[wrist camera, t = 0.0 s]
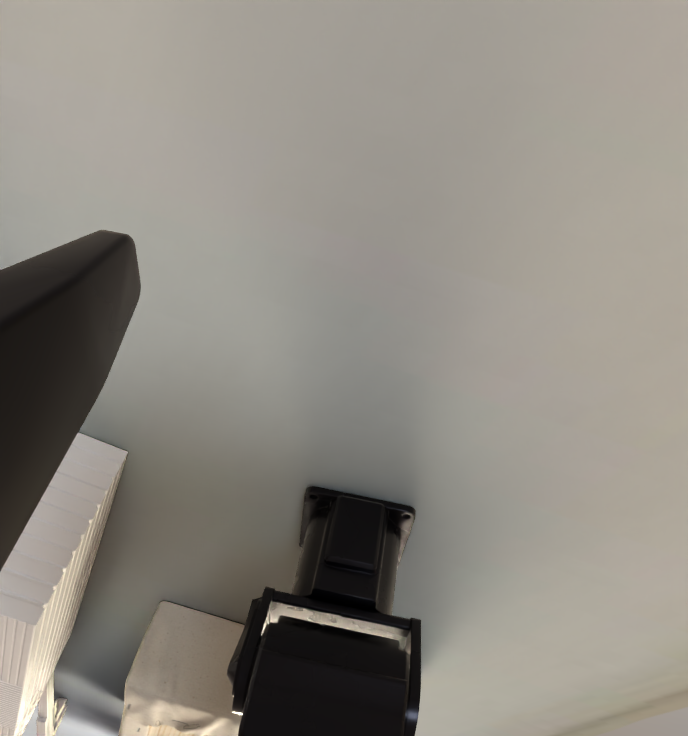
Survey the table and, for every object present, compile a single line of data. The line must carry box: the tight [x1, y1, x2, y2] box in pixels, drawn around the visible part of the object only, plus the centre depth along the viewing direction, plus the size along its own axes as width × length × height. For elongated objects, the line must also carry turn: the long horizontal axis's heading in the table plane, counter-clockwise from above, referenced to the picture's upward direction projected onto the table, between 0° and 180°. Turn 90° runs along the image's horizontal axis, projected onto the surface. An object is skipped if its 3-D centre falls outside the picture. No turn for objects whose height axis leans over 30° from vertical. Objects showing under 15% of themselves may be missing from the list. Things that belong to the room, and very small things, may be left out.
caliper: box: [36, 670, 68, 736], centre depth 66 cm, size 20×1×6 cm, turn 167°
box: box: [118, 601, 415, 736], centre depth 60 cm, size 23×8×32 cm
